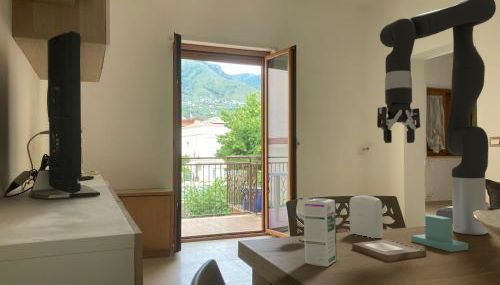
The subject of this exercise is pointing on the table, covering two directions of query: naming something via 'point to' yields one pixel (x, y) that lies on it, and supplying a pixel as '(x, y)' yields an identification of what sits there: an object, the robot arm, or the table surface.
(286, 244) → the table surface
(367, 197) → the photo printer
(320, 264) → the syrup box
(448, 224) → the stub
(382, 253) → the board
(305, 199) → the wineglass
